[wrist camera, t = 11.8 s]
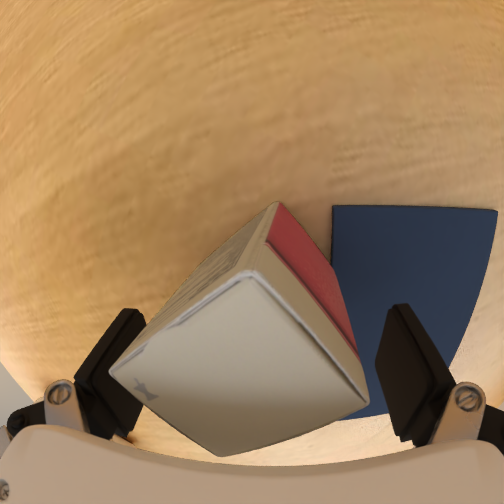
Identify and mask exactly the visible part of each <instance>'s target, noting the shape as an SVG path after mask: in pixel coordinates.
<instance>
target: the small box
mask: <svg viewBox="0 0 504 504" xmlns="http://www.w3.org/2000/svg"><path fill="white" fill-rule="evenodd" d="M109 374H110V375H111V376H112V377H113V378H114V379H115V380H117V381H118V382H119V383H120V384H121V385H122V386H123V387H124V388H126V389H127V390H128V391H129V392H130V393H131V394H132V395H134V397H135V398H137V399H138V400H139V401H140V402H141V403H142V404H144V405H145V406H146V407H147V408H148V409H150V410H151V411H152V412H154V413H155V414H156V415H157V416H158V417H159V418H161V419H162V420H164V421H165V422H166V423H168V424H169V425H170V426H172V427H173V428H175V429H176V430H177V431H179V432H180V433H181V434H183V435H185V436H186V437H187V438H189V439H191V440H192V441H194V442H195V443H197V444H198V445H200V446H201V447H203V448H205V449H206V450H208V451H209V452H211V453H212V454H214V455H216V456H218V457H227V456H232V455H236V454H241V453H244V452H249V451H252V450H257V449H260V448H264V447H267V446H271V445H274V444H277V443H280V442H283V441H286V440H289V439H292V438H295V437H299V436H301V435H304V434H306V433H309V432H311V431H314V430H316V429H319V428H322V427H324V426H326V425H328V424H331V423H333V422H335V421H337V420H340V419H342V418H344V417H346V416H348V415H350V414H352V413H354V412H356V411H358V410H360V409H363V408H364V407H366V406H368V405H369V403H370V398H369V392H368V388H367V384H366V380H365V375H364V371H363V368H362V364H361V361H360V357H359V354H358V350H357V346H356V342H355V339H354V335H353V332H352V328H351V324H350V321H349V317H348V313H347V310H346V306H345V303H344V300H343V296H342V293H341V290H340V287H339V283H338V280H337V277H336V274H335V271H334V269H333V268H332V266H331V265H330V264H329V262H328V261H327V259H326V258H325V257H324V255H323V254H322V253H321V251H320V250H319V248H318V247H317V246H316V245H315V243H314V242H313V241H312V239H311V238H310V237H309V235H308V234H307V233H306V232H305V230H304V229H303V228H302V227H301V226H300V224H299V223H298V222H297V221H296V220H295V218H294V217H293V216H292V215H291V214H290V213H289V211H288V210H287V209H286V208H285V207H284V206H283V204H282V203H280V202H274V203H272V204H271V205H270V206H268V207H267V208H266V209H265V210H263V211H262V212H261V213H260V214H258V215H257V216H256V217H254V218H253V219H252V220H251V221H250V222H248V223H247V224H246V225H245V226H243V227H242V228H241V229H240V230H239V231H237V232H236V233H235V234H234V235H233V236H232V237H230V238H229V239H228V240H227V241H226V242H225V243H224V244H222V245H221V246H220V247H219V248H218V249H217V250H215V251H214V252H213V253H212V254H211V255H210V256H209V257H208V258H206V259H205V260H204V261H203V262H202V263H201V264H200V265H199V266H198V267H197V268H196V269H195V270H194V271H193V273H192V274H191V275H190V276H189V277H188V278H187V279H186V280H185V282H184V283H183V284H182V285H181V286H180V287H179V289H178V290H177V291H176V292H175V293H174V294H173V296H172V297H171V298H170V299H169V300H168V301H167V303H166V304H165V305H164V306H163V307H162V308H161V309H160V311H159V312H158V313H157V314H156V315H155V316H154V318H153V319H152V320H151V321H150V322H149V323H148V324H147V326H146V327H145V328H144V329H143V330H142V331H141V333H140V334H139V335H138V336H137V337H136V338H135V340H134V341H133V342H132V343H131V344H130V346H129V347H128V348H127V349H126V350H125V351H124V353H123V354H122V355H121V356H120V357H119V359H118V360H117V361H116V362H115V363H114V364H113V365H112V367H111V368H110V369H109Z"/></svg>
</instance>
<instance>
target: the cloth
mask: <svg viewBox="0 0 504 504" xmlns="http://www.w3.org/2000/svg"><path fill="white" fill-rule="evenodd" d="M497 217H498V211H496V210H490V209H475V208H457V207H434V206H397V205H333V206H332V244H331V266H332V268H333V269H334V271H335V274H336V277H337V280H338V283H339V287H340V290H341V293H342V296H343V300H344V303H345V306H346V310H347V313H348V317H349V321H350V324H351V328H352V332H353V335H354V339H355V342H356V346H357V350H358V354H359V357H360V361H361V364H362V368H363V371H364V375H365V380H366V384H367V388H368V392H369V398H370V403H369V405H368V406H366V407H364V408H363V409H360V410H358V411H356V412H354V413H352V414H350V415H348V416H346V417H344V418H342V419H340V420H337V421H341V420H349V419H357V418H364V417H370V416H376V415H382V414H387V413H389V411H388V408H387V404H386V401H385V398H384V394H383V391H382V388H381V385H380V382H379V378H378V375H377V372H376V369H375V358H376V354H377V351H378V347H379V344H380V340H381V336H382V332H383V328H384V324H385V320H386V316H387V312H388V309H390V308H392V306H393V305H394V304H402V303H408V304H409V305H410V307H411V308H412V310H413V311H414V313H415V314H416V316H417V317H418V319H419V321H420V322H421V324H422V325H423V327H424V329H425V330H426V332H427V333H428V335H429V337H430V338H431V339H432V341H433V343H434V344H435V346H436V348H437V350H438V351H439V353H440V355H441V356H442V358H443V360H444V362H445V364H446V365H447V367H448V368H449V366H450V364H451V362H452V360H453V358H454V356H455V354H456V351H457V349H458V347H459V345H460V343H461V340H462V338H463V336H464V333H465V331H466V328H467V326H468V323H469V321H470V318H471V316H472V313H473V310H474V307H475V305H476V302H477V299H478V296H479V293H480V290H481V286H482V283H483V280H484V276H485V273H486V269H487V265H488V261H489V257H490V253H491V249H492V244H493V239H494V234H495V229H496V223H497Z"/></svg>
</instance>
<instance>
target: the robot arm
mask: <svg viewBox="0 0 504 504" xmlns="http://www.w3.org/2000/svg"><path fill="white" fill-rule="evenodd" d="M146 326H147V325H146V322H145V319H144V316H143V314H142V313H140V312H139V310H138V309H130V308H124V309H123V310H122V311H121V312H120V313H119V315H118V316H117V317H116V319H115V320H114V321H113V322H112V324H111V325H110V326H109V328H108V329H107V330H106V332H105V333H104V334H103V336H102V337H101V339H100V340H99V341H98V343H97V344H96V345H95V347H94V348H93V350H92V351H91V352H90V354H89V355H88V357H87V358H86V359H85V361H84V362H83V364H82V365H81V367H80V368H79V369H78V371H77V372H76V374H75V375H74V379H75V382H74V383H72V382H71V381H69V380H64V379H62V380H57V381H55V382H53V383H52V384H51V385H49V386H48V388H47V389H46V391H45V393H44V400H43V401H41V402H38V403H35V404H33V405H30V406H27V407H25V408H21V409H19V410H16V411H15V412H13V413H12V414H11V415H10V417H9V418H8V421H7V427H6V426H5V425H3V426H2V427H0V504H504V411H502V410H499V409H497V408H494V407H492V406H489V405H487V404H486V397H485V393H484V392H483V390H482V389H481V388H480V387H479V386H478V385H476V384H474V383H471V382H461V383H459V384H456V382H455V380H454V378H453V377H452V375H451V373H450V371H449V369H448V367H447V365H446V364H445V362H444V360H443V358H442V356H441V355H440V353H439V351H438V350H437V348H436V346H435V344H434V343H433V341H432V339H431V338H430V337H429V335H428V333H427V332H426V330H425V329H424V327H423V325H422V324H421V322H420V321H419V319H418V317H417V316H416V314H415V313H414V311H413V310H412V308H411V307H410V305H409V304H408V303H402V304H394V305H393V306H392V308H390V309H388V312H387V316H386V320H385V324H384V328H383V332H382V336H381V340H380V344H379V347H378V351H377V354H376V358H375V369H376V372H377V375H378V378H379V382H380V385H381V388H382V391H383V394H384V398H385V401H386V404H387V408H388V411H389V415H390V418H391V422H392V425H393V429H394V433H395V435H396V436H399V437H400V440H401V442H405V441H409V440H412V442H413V445H414V447H413V449H409V450H405V451H401V452H397V453H392V454H388V455H383V456H377V457H372V458H366V459H360V460H353V461H346V462H339V463H329V464H318V465H303V466H247V465H232V464H221V463H212V462H204V461H197V460H190V459H184V458H178V457H173V456H168V455H163V454H158V453H154V452H149V451H145V450H141V449H137V448H134V447H130V446H126V445H123V444H119V443H116V442H114V441H113V438H112V437H113V435H114V433H115V434H116V435H119V436H123V437H126V438H127V435H128V433H129V432H131V431H132V430H133V429H134V426H135V424H136V422H137V419H138V417H139V415H140V412H141V410H142V407H143V405H144V404H142V403H141V402H140V401H139V400H138V399H137V398H135V397H134V395H132V394H131V393H130V392H129V391H128V390H127V389H126V388H124V387H123V386H122V385H121V384H120V383H119V382H118V381H117V380H115V379H114V378H113V377H112V376H111V375H110V374H109V369H110V368H111V367H112V365H113V364H114V363H115V362H116V361H117V360H118V359H119V357H120V356H121V355H122V354H123V353H124V351H125V350H126V349H127V348H128V347H129V346H130V344H131V343H132V342H133V341H134V340H135V338H136V337H137V336H138V335H139V334H140V333H141V331H142V330H143V329H144V328H145V327H146Z"/></svg>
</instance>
